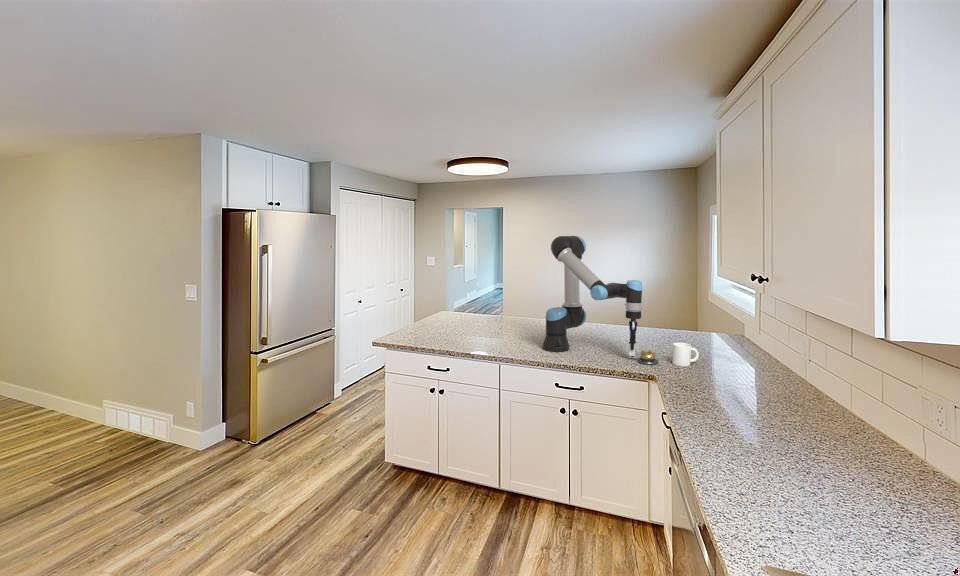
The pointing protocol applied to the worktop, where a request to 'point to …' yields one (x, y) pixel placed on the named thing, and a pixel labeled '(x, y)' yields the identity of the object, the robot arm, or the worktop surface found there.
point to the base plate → (647, 362)
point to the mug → (683, 354)
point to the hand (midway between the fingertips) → (632, 355)
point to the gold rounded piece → (645, 355)
